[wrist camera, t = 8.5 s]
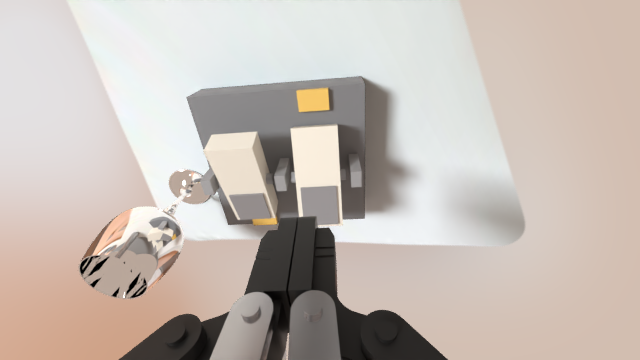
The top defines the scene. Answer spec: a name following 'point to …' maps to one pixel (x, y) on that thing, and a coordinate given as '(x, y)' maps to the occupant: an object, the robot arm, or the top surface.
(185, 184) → the wineglass
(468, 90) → the top surface
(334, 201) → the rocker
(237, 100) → the switch unit
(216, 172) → the block
